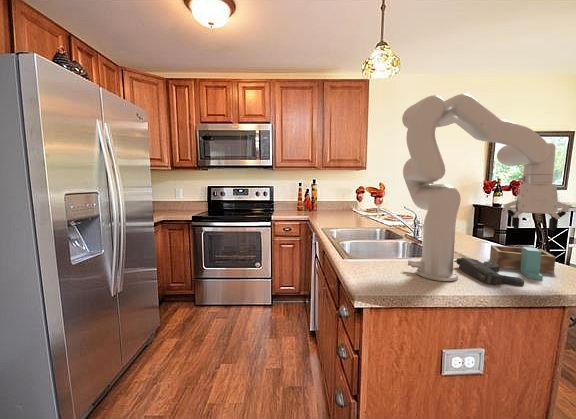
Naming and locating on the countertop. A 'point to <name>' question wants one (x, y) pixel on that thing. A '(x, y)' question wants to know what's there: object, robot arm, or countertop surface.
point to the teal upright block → (531, 263)
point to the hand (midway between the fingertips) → (533, 229)
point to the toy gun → (486, 272)
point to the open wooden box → (519, 258)
